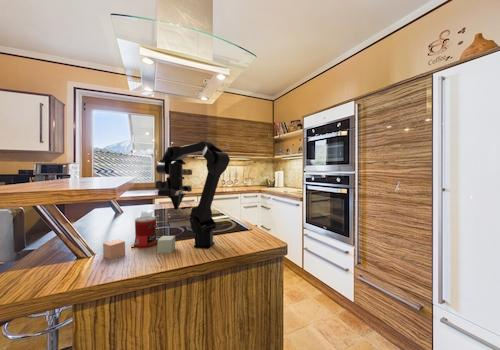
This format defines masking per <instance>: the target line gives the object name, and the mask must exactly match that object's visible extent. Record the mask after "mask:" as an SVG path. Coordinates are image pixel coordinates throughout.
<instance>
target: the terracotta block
mask: <svg viewBox="0 0 500 350" xmlns="http://www.w3.org/2000/svg"><path fill="white" fill-rule="evenodd" d="M102 246H103V247H102V249H103V250H102V251H103V252H102V253H103V257H104V258H106V259H108V260H110V261H111V260H114V259H116V258H120V257H123V256H125V255H126V241H124V240H121V239H120V238H119V239H118V238H116V239H114V240H110V241H106V242H103V243H102Z"/></svg>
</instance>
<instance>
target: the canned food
mask: <svg viewBox="0 0 500 350" xmlns="http://www.w3.org/2000/svg"><path fill="white" fill-rule="evenodd" d="M134 223H135V224H134V228H135V229H134V233H135V237H134V238H135V246H136V247H137V248H139V249H145V248H146V247H147V248H151V247H154V246H155V245H156V244H157V217H156V216H152V215H151V216H140V217H136V218H135V220H134Z"/></svg>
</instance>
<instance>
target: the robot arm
mask: <svg viewBox="0 0 500 350" xmlns="http://www.w3.org/2000/svg"><path fill="white" fill-rule="evenodd" d="M201 153H202V156H203V158H204V159H205V160H206V169H207V176H206V179H205V180H204V181H205V182H204V184H203V189H202V192H201V195H200V199H199V201H198V204H197V205H196V206H193V207H192V208H191V210H190V214H189V217H190V218H189V222H190V226H191V230H192V233H195V234H194V245H193V248H197V249H199V248H200V249H210V248H211V247H212V246H213V245H214V244H215V243H216V242H215V241H214V230H216V227H217V222H215V220H214V219H213V216H212V215H213V212H212V204H213V201H214V198H215V194H216V191H217V188H218V184H219V181H220V179H221V176H222V174H223V173H225V171H226V170H227V168H228V166H229V164H230V161H231V160H230V159H231V157H230V156H229V154H228V153H227V152H225V151H223V150H221V149H220V148H219V147H217V146H215V144H213V142H211V141H207V140H202V141H199V142H195V143H191V144H186V145H183V146H177V145H176V146H175V145H171V146H170V145H169V146H168V147H167V148H166V150H165V151H164V155H163V156H162V159H160V160H159V162H158V163H157V164H156V167H155V170H156V173H157V174H158V175H168V176H167V177H166V180H165V181H162V180H157V181H155V187H154V188H155V189H157V196H158V197H168V198H169V199H170V201H171V203H172V206H173V208H174V210H175V211H176V210H179V207H180V206H181V203H182V202H183V200H184V197H185V195H186V193H184V192H188V193H190V192H192V186H191V185H183V183H184V182H183V180H185V176H183V165H186V164H187V163H186V162H185V161H184V159H186V158H187V157H188V156H192V155H196V154H201Z"/></svg>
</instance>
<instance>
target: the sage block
mask: <svg viewBox="0 0 500 350" xmlns="http://www.w3.org/2000/svg"><path fill="white" fill-rule="evenodd" d="M175 249H176V235H162V236H161V237H160V238H159V239H158V238H157V254H172V253H173V252H174V250H175Z"/></svg>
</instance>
